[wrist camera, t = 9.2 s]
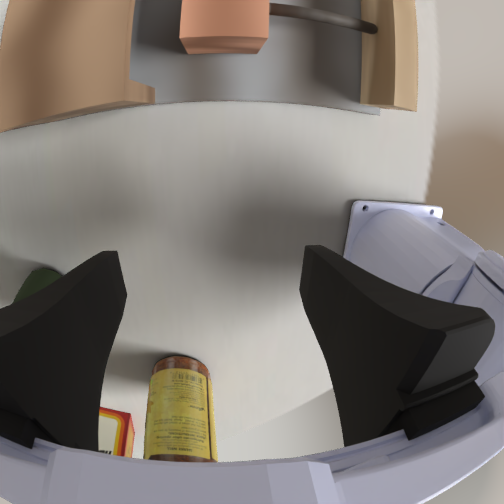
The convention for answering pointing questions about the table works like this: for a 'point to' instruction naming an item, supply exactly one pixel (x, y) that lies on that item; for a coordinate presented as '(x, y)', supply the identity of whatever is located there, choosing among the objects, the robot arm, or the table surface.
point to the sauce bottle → (180, 413)
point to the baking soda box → (115, 433)
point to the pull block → (371, 24)
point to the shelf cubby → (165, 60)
